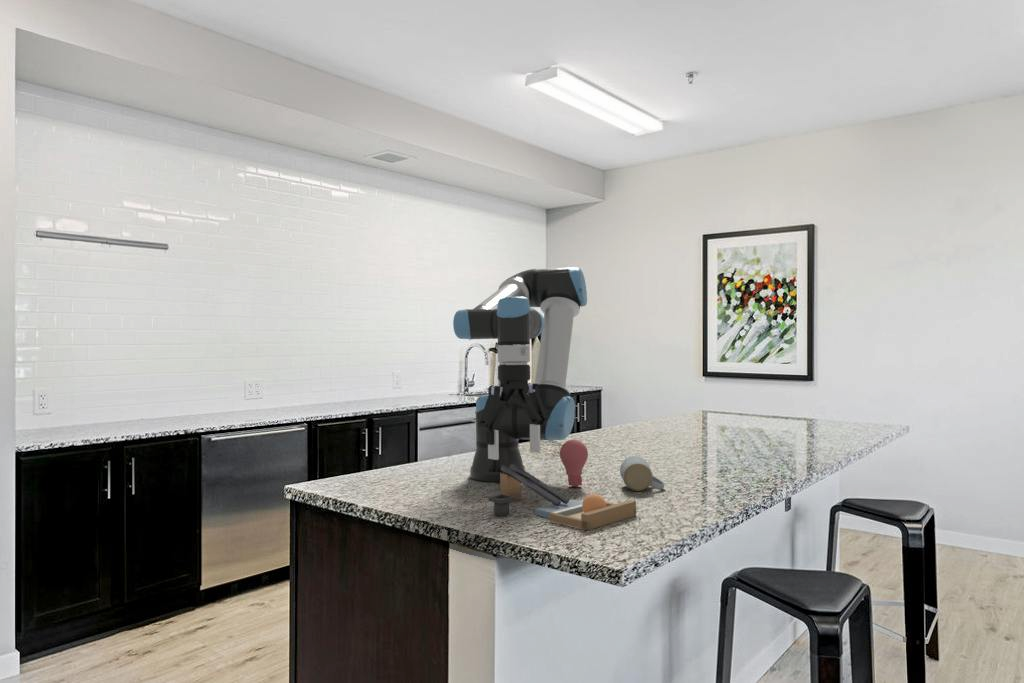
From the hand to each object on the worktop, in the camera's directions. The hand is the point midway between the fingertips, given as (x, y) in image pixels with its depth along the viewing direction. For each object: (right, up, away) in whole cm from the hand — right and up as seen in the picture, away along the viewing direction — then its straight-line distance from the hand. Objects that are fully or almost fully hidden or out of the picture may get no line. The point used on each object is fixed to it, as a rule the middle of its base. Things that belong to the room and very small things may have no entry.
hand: (514, 455), depth 156 cm
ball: (+16, -8, -17) cm, 25 cm away
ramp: (+4, -10, -4) cm, 12 cm away
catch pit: (+16, -10, -16) cm, 25 cm away
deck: (+11, -10, -11) cm, 18 cm away
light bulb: (+15, -11, +15) cm, 24 cm away
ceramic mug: (+32, -11, +12) cm, 36 cm away
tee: (-3, -11, -13) cm, 17 cm away
